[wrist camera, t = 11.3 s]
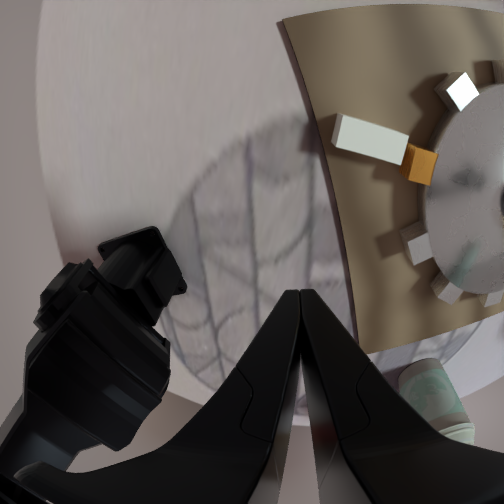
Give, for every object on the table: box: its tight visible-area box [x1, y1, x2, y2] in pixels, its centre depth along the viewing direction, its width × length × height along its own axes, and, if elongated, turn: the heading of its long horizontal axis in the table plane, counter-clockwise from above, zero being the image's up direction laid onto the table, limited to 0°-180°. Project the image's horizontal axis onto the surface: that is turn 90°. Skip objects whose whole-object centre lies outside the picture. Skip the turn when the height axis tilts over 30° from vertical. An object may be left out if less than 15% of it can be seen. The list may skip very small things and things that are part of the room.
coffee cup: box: [398, 358, 475, 445], centre depth 25 cm, size 8×8×12 cm
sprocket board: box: [282, 4, 504, 354], centre depth 18 cm, size 30×30×1 cm
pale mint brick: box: [331, 113, 409, 165], centre depth 17 cm, size 4×2×2 cm, turn 81°
